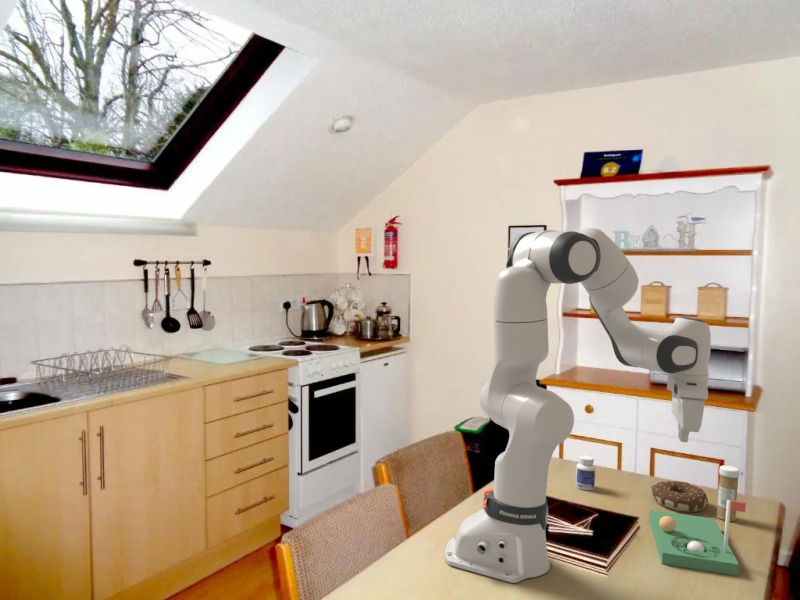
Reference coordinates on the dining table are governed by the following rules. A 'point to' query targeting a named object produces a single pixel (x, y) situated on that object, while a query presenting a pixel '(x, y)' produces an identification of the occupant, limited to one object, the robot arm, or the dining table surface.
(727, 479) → the sprinkles bottle
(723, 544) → the putting mat
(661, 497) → the donut
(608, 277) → the robot arm
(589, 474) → the pill bottle
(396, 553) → the dining table surface
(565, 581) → the dining table surface
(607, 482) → the dining table surface
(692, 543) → the white ball
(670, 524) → the orange ball
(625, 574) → the dining table surface
